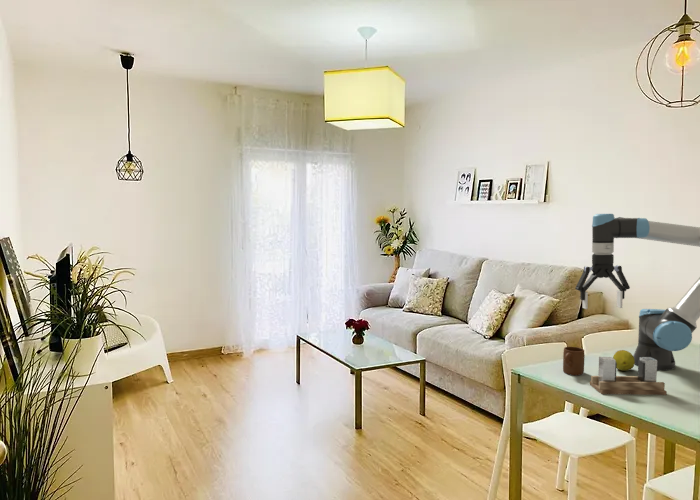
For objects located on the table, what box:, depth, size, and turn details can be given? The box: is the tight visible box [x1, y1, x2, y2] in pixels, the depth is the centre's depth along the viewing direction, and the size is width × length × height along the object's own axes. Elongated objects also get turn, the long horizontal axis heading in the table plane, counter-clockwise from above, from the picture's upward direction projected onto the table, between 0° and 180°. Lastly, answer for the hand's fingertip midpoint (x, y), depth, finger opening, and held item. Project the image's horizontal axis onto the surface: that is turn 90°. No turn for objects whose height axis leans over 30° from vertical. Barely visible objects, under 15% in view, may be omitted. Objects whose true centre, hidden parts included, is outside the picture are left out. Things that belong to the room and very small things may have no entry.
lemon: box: [612, 349, 635, 372], centre depth 208 cm, size 11×8×8 cm
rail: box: [589, 375, 668, 396], centre depth 186 cm, size 22×10×4 cm, turn 88°
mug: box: [562, 346, 586, 376], centre depth 203 cm, size 12×8×9 cm, turn 138°
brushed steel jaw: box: [597, 356, 617, 384], centre depth 186 cm, size 5×4×10 cm
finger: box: [637, 357, 658, 382], centre depth 186 cm, size 5×4×10 cm
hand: (602, 308), depth 205 cm, fingers open, 13 cm apart
